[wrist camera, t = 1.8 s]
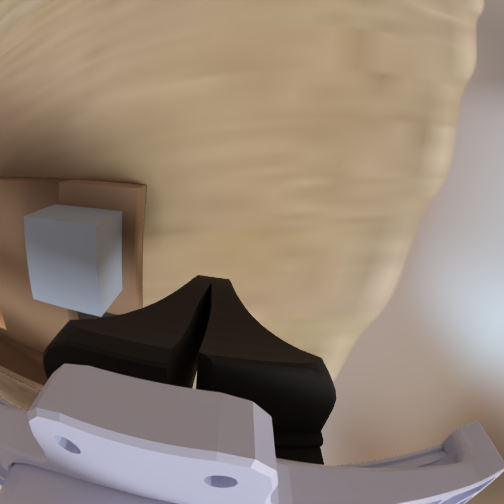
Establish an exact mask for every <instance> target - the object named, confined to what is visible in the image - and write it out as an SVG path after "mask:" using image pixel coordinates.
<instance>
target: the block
mask: <svg viewBox="0 0 504 504" xmlns="http://www.w3.org/2000/svg"><path fill="white" fill-rule="evenodd" d="M122 213H123V211H115V210H106V209H97V208H88V207H78V206H69V205H59V204H55V205H52V206H49V207H46V208H44V209H41V210H38V211H36V212H33V213H31V214H28V215H26V216H24V233H25V245H26V254H27V263H28V270H29V277H30V284H31V290H32V295H33V299H35V300H39V301H42V302H45V303H49V304H52V305H56V306H60V307H63V308H67V309H71V310H75V311H79V312H83V313H87V314H91V315H95V316H99V317H102V315H103V314H104V313H105V312H106V310H107V309H108V308H109V306H110V305H111V304H112V302H113V301H114V300H115V299H116V297H117V296H118V295H119V294H120V292H121V291H122Z"/></svg>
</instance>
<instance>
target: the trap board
mask: <svg viewBox="0 0 504 504" xmlns="http://www.w3.org/2000/svg"><path fill="white" fill-rule="evenodd" d="M146 187H147V185H140V184H129V183H118V182H105V181H91V180H75V179H55V178H27V177H0V372H2V373H4V374H6V375H8V376H10V377H12V378H14V379H16V380H18V381H20V382H22V383H25V384H27V385H29V386H31V387H33V388H36V389H38V390H40V391H41V390H42V388H43V387H44V385H45V384H46V382H47V381H48V379H47V376H46V374H45V370H44V366H43V353H44V351H45V349H46V348H47V346H48V345H49V344H50V342H51V341H52V340H53V339H54V338H55V336H56V335H57V334H58V333H59V332H60V330H61V329H62V328H63V327H64V326H65V325H66V324H67V322H68V321H69V320H79V319H96V318H104V317H110V316H116V315H120V314H125V313H128V312H131V311H135V310H138V309H141V308H143V302H142V262H143V231H144V213H145V199H146ZM55 204H59V205H69V206H78V207H88V208H97V209H106V210H115V211H123V213H122V291H121V292H120V294H119V295H118V296H117V297H116V299H115V300H114V301H113V302H112V304H111V305H110V306H109V308H108V309H107V310H106V312H105V313H104V314H103V315H102V317H99V316H95V315H91V314H87V313H83V312H79V311H75V310H71V309H67V308H63V307H60V306H56V305H52V304H49V303H45V302H42V301H39V300H35V299H33V295H32V290H31V284H30V277H29V270H28V263H27V254H26V245H25V233H24V216H26V215H28V214H31V213H33V212H36V211H38V210H41V209H44V208H46V207H49V206H52V205H55Z"/></svg>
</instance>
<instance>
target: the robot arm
mask: <svg viewBox="0 0 504 504" xmlns="http://www.w3.org/2000/svg"><path fill="white" fill-rule="evenodd" d="M43 366H44V370H45V374H46V376H47V379H48V381H47V382H46V384H45V385H44V387H43V388H42V390H41V391H40V393H39V394H38V396H37V397H36V399H35V400H34V402H33V403H32V405H31V407H30V408H29V410H28V411H26V410H23V409H21V408H19V407H17V406H15V405H13V404H12V403H10V402H8V401H6V400H4V399H3V398H1V397H0V485H1V486H2V488H1V491H0V504H465V503H466V502H467V501H469V500H470V499H471V498H472V497H474V496H475V495H476V494H478V493H479V492H480V491H481V490H482V489H484V488H485V487H486V486H487V485H489V484H490V483H491V482H492V481H493V480H494V479H496V478H497V477H498V476H499V475H500V474H501V473H502V472H503V471H504V461H503V459H502V458H501V456H500V454H499V453H498V451H497V449H496V448H495V446H494V445H493V443H492V441H491V440H490V438H489V437H488V435H487V434H486V432H485V431H484V429H483V428H482V426H481V424H480V423H479V422H478V421H475V422H472V423H469V424H466V425H463V426H460V427H458V428H456V429H455V430H453V431H452V432H451V433H450V434H449V435H448V436H447V437H446V438H445V440H444V441H443V442H442V444H440V445H437V446H433V447H430V448H426V449H423V450H419V451H416V452H411V453H407V454H403V455H399V456H394V457H389V458H384V459H379V460H374V461H367V462H361V463H354V464H346V465H338V466H329V465H324V462H323V458H322V453H321V449H320V446H322V444H323V437H322V433H321V430H322V428H323V426H324V424H325V423H326V421H327V419H328V417H329V415H330V413H331V412H332V410H333V407H334V404H335V401H336V391H335V388H334V384H333V382H332V379H331V376H330V374H329V372H328V370H327V368H326V366H325V364H324V362H323V360H322V358H320V357H318V356H315V355H312V354H310V353H307V352H305V351H302V350H300V349H298V348H296V347H294V346H292V345H290V344H288V343H286V342H285V341H283V340H281V339H280V338H278V337H277V336H275V335H274V334H272V333H271V332H270V331H268V330H267V329H266V328H264V327H263V326H262V325H261V324H260V323H259V322H258V321H257V320H256V319H255V318H254V317H253V316H252V315H251V314H250V313H249V312H248V311H247V309H246V308H245V307H244V305H243V304H242V302H241V301H240V299H239V297H238V296H237V294H236V292H235V290H234V288H233V286H232V283H231V282H230V280H229V279H222V278H215V277H208V276H201V275H198V276H196V277H195V278H193V279H192V280H191V281H189V282H188V283H187V284H185V285H184V286H183V287H181V288H180V289H179V290H177V291H176V292H174V293H172V294H171V295H169V296H167V297H166V298H164V299H162V300H160V301H158V302H156V303H154V304H151V305H149V306H147V307H144V308H141V309H138V310H135V311H131V312H128V313H125V314H120V315H116V316H110V317H104V318H96V319H79V320H69V321H68V322H67V324H66V325H65V326H64V327H63V328H62V329H61V330H60V332H59V333H58V334H57V335H56V336H55V338H54V339H53V340H52V341H51V342H50V344H49V345H48V346H47V348H46V349H45V351H44V353H43ZM196 372H197V383H196V389H192V387H193V382H194V379H195V375H196Z"/></svg>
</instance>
